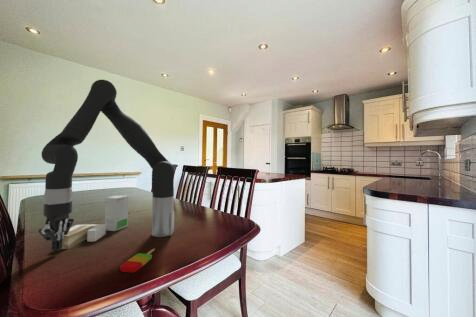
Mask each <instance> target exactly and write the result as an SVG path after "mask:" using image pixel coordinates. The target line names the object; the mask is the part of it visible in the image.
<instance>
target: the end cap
mask: <svg viewBox="0 0 476 317" xmlns="http://www.w3.org/2000/svg"><path fill="white" fill-rule="evenodd" d="M84 225H86V226H92V228H91V229H90V230H88V231H87V239H86V240H87V242H96V241H98V240H100V239H101V238H103V237H104V236H105V235H106V232H107V230H106V224H105V223H101V224H94V223H93V224H91V223H90V224H75V225H73V226H71V227H70V230H69V232H70V231H72V230H74V229H77V228H79V227H81V226H84Z"/></svg>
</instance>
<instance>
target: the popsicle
mask: <svg viewBox="0 0 476 317" xmlns="http://www.w3.org/2000/svg"><path fill="white" fill-rule="evenodd" d="M155 250H156V248H152V249H150V250H149V251H148V252H147V253H140V252H139V253H136V254H134V255H133V256H132V257H131V258H129V259H128V260H127V261H125V262H123V263H122V264H121V265H120V267H119V268H120V272H123V273H136V272H138V271H139V270H140V269H141V268H142V267H144V266H145V265H146V264H147V263H148V262H150V261H151V260H152V258H153V255H152V253H153V252H154V251H155Z"/></svg>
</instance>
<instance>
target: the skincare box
mask: <svg viewBox="0 0 476 317" xmlns="http://www.w3.org/2000/svg"><path fill="white" fill-rule="evenodd" d="M104 199H105V202H104V203H105V206H104V207H105V210H104V224H106V232H107V231H108V232H110V231H111V232H116V231H120V230H123V229H125V228H127V227H129V226H128V225H129V220H128V219H129V195H112V196H108V197H105V198H104Z"/></svg>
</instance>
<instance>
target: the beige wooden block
mask: <svg viewBox="0 0 476 317" xmlns="http://www.w3.org/2000/svg"><path fill="white" fill-rule="evenodd" d="M83 225H84V226H81V227H79V228H77V229H74V230H72V231H70V232H68V234H67V235H64V238H63V240H62V249H61V250H69V249H71V248H72V247H75V246H77V245H78V244H80V243H82V242H84V241H86V240H87V231H88V230H90V229H91V228H92V226H86V225H87V224H83Z"/></svg>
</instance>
